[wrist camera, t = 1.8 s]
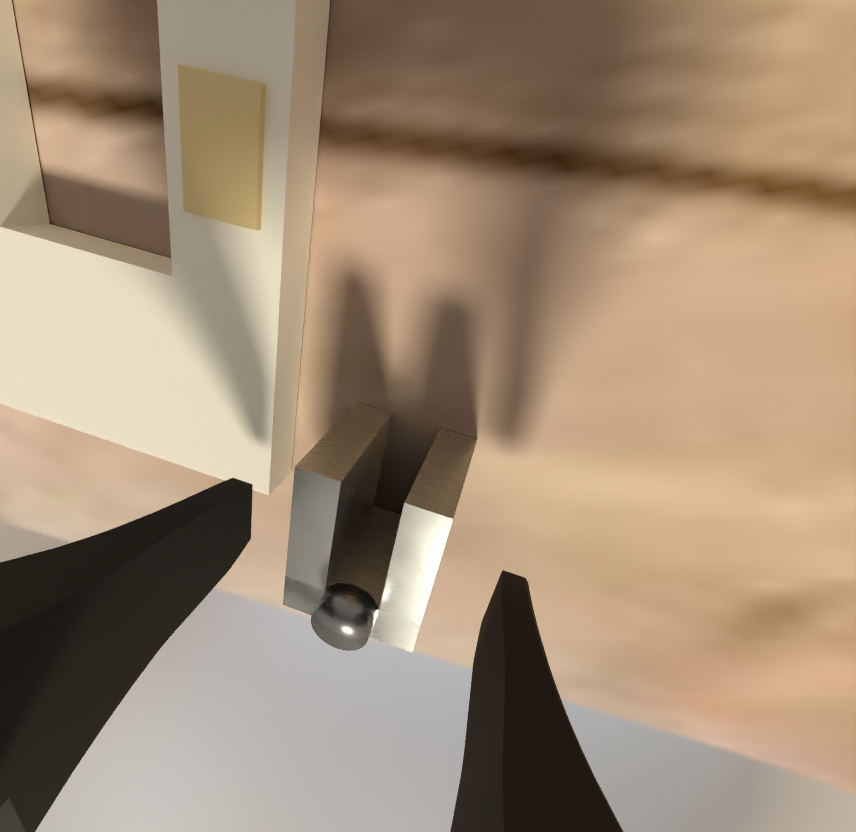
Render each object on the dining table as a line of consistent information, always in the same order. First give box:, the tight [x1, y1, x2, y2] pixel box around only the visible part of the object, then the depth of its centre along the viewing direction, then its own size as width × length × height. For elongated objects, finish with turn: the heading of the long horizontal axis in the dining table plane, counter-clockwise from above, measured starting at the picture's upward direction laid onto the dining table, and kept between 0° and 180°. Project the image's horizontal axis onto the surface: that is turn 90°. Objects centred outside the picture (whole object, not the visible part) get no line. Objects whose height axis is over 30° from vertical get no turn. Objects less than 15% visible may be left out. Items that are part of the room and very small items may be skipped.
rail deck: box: [0, 0, 330, 495], centre depth 13 cm, size 12×14×2 cm
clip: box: [283, 402, 477, 652], centre depth 13 cm, size 4×5×5 cm
